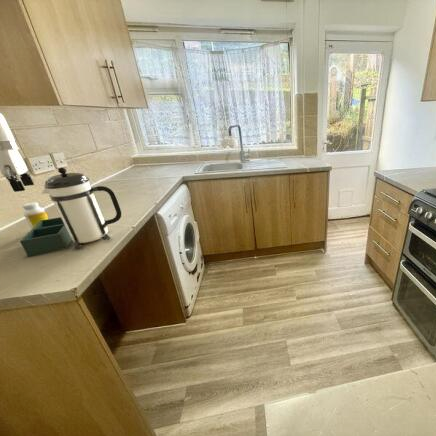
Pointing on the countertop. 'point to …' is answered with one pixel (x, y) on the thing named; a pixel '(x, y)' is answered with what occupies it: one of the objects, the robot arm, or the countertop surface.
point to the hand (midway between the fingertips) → (24, 188)
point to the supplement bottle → (34, 213)
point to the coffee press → (80, 206)
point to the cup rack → (46, 237)
